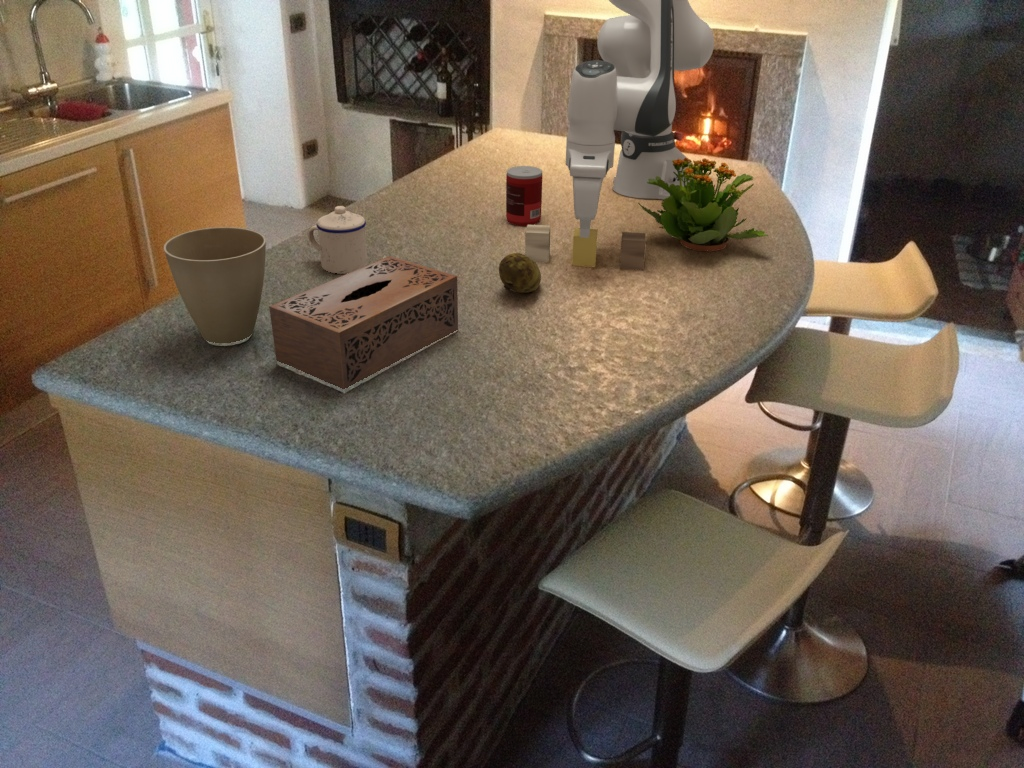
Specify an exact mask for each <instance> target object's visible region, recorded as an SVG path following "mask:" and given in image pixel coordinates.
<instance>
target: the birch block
mask: <svg viewBox="0 0 1024 768" xmlns="http://www.w3.org/2000/svg"><path fill="white" fill-rule="evenodd" d="M551 230H552V228H551V225H546V224H545V225H541V224H539V225H538V224H535V225H527V226H526V230H525V233H524V234H525V238H524V240H525V241H524V243H525V244H524V255H526V256H527V257H529V258H530V259H531V260H533V261H534V262H535V263H541V262H544V263H545V264H549V259H550V253H551ZM544 263H543V264H544Z"/></svg>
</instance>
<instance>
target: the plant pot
mask: <svg viewBox="0 0 1024 768" xmlns="http://www.w3.org/2000/svg"><path fill="white" fill-rule="evenodd" d="M266 241H267V240H266V237H265V236H264V234H262V233H260V232H258V231H256V230H252V229H248V228H242V227H233V226H232V227H231V226H229V227H228V226H224V227H223V226H221V227H220V226H217V227H205V228H201V229H200V228H199V229H194V230H190V231H185V232H183V233H179V234H177V235H175V236H173V237H171V238H170V239H169V240H167V241H166V242H165V243H164V245H163V251H164V255H165V257H166V261H167V264H168V266H169V270H170V273H171V275H172V279H173V280H174V283H175V286H176V288H177V290H178V293H179V295H180V297H181V299H182V301H183V304H184V306H185V307H186V310H187V312H188V313H189V316H190V317H191V319H192V321H193V323H194V324H195V326H196V329H198V331H199V334H201V336H202V338H203V339H204V341H205V340H207V341H209V342H213V343H214V342H215V343H231V342H236V341H240V340H243V339H245V338H247V337H249V336H250V335H251V334H252V333H253V334H254V331H255V326H256V323H257V319H258V314H259V311H260V306H261V300H262V294H263V287H264V281H265V280H264V279H265V272H266V270H265V267H266V251H267V249H266V247H267V246H266V245H267V244H266V243H267V242H266ZM253 334H252V335H253Z"/></svg>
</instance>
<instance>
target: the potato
mask: <svg viewBox="0 0 1024 768" xmlns="http://www.w3.org/2000/svg"><path fill="white" fill-rule="evenodd" d="M498 274H499V277H500V280H501V283H502V285H503V288H504V289H505V290H506V291H512V292H515V293H519V294H521V293H531V292H534V291H535V290H537V289H538V287H539V286H540V285H541V281H542V275H541V274H542V273H541V270H540V267H539V266H538V265H537V262H534V261H533V260H531V259H530V258H529V257H527V256H526V255H525V253H524V254H523V253H520V252H519V253H518V252H513V253H512V252H511V253H509V254H507V255H506V256H504V258H502V259H501V260H500V262H499V265H498Z"/></svg>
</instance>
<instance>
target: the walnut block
mask: <svg viewBox="0 0 1024 768" xmlns="http://www.w3.org/2000/svg"><path fill="white" fill-rule="evenodd" d="M646 244H647V237H646V232H637V231H636V232H635V231H634V232H633V231H621V240H620V251H619V252H620V253H619V254H620V255H619V270H624V271H626V270H627V271H643V272H644V268H645V267H644V266H645V257H646V247H647V246H646Z"/></svg>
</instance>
